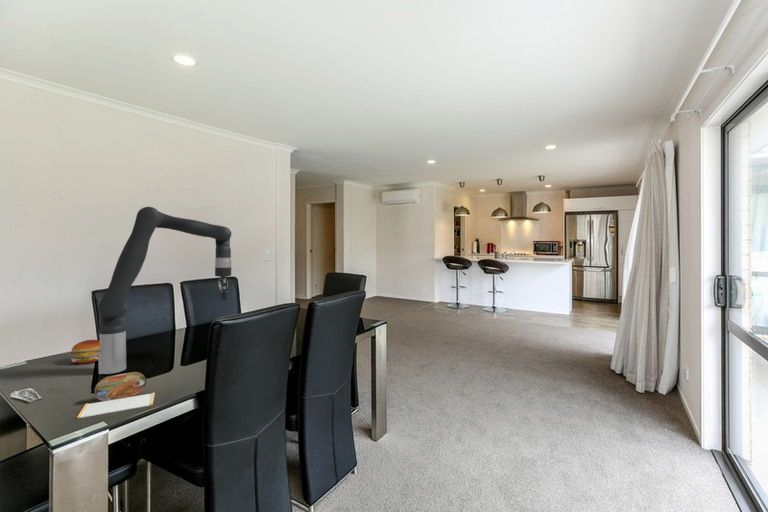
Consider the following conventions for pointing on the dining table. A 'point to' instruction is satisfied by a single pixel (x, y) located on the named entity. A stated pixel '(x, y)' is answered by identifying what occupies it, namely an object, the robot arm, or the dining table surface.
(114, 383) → the tin
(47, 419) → the dining table surface
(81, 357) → the burger
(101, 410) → the mat
